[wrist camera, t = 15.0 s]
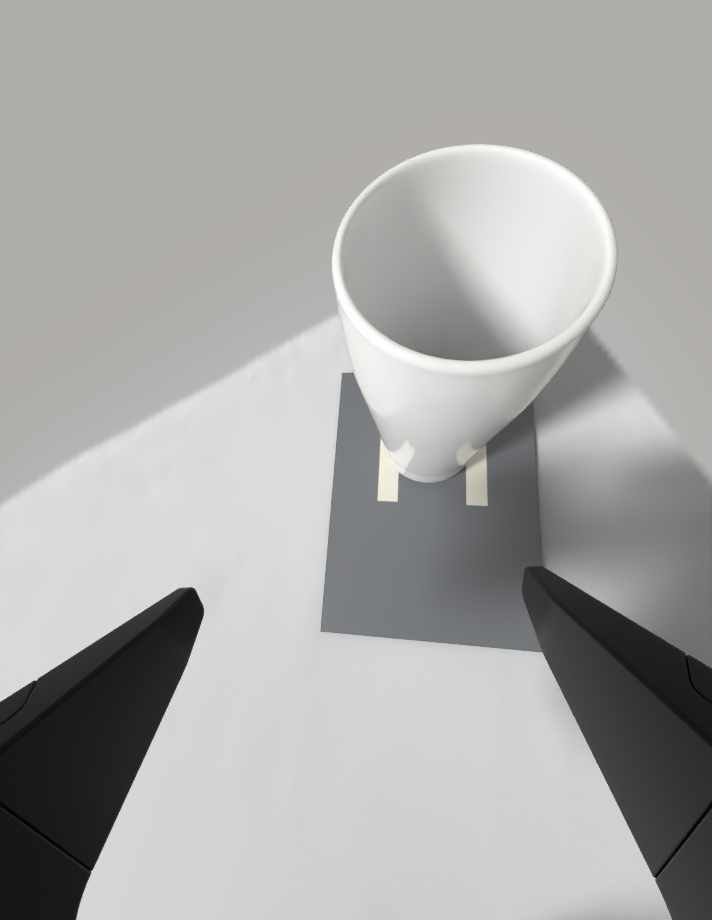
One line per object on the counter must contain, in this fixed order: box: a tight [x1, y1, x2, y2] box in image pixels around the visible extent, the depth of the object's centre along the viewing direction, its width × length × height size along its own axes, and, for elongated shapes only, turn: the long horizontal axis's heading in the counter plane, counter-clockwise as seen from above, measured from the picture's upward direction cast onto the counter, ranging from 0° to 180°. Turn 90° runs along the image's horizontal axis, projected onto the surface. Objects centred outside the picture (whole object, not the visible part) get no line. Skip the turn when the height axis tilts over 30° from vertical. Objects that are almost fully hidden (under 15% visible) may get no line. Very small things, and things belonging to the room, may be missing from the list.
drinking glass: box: [332, 144, 618, 483], centre depth 16 cm, size 7×7×15 cm
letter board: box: [321, 373, 542, 652], centre depth 22 cm, size 16×12×1 cm
